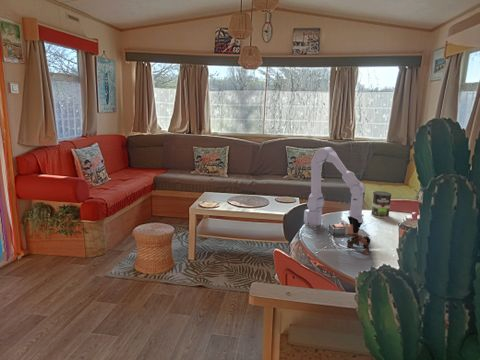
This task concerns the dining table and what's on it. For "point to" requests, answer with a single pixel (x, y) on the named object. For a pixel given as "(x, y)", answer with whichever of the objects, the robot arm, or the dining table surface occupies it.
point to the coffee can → (381, 204)
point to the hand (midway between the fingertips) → (354, 231)
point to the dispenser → (344, 230)
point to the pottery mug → (357, 239)
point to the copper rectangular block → (350, 227)
